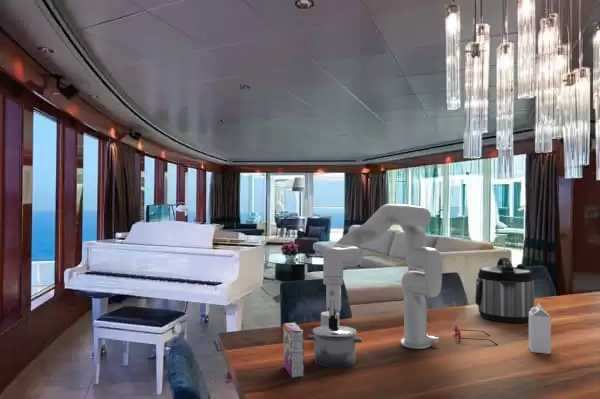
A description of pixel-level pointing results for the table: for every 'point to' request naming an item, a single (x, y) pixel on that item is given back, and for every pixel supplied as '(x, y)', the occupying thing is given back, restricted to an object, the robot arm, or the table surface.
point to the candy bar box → (293, 349)
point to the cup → (326, 318)
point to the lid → (335, 331)
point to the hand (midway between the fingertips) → (333, 328)
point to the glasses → (469, 338)
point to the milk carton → (539, 330)
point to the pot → (334, 350)
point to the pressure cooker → (505, 292)
